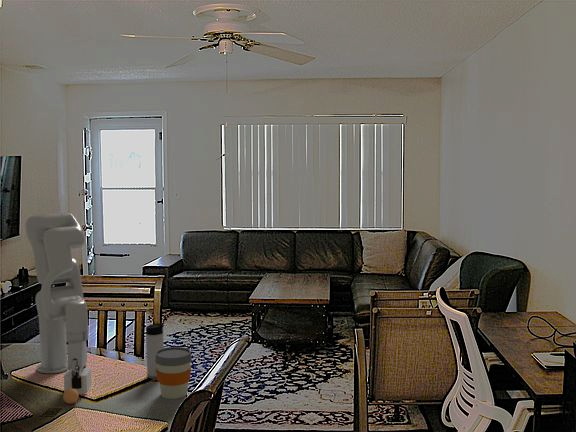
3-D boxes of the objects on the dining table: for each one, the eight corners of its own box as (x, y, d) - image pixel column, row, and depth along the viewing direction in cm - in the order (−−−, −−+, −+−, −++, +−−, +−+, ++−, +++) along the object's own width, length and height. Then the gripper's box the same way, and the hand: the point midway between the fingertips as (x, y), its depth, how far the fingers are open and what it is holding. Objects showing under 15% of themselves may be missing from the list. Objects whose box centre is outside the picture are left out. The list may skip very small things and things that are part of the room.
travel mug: (161, 379, 247) (160, 327, 244) (144, 378, 248) (143, 326, 246) (167, 373, 253) (166, 322, 250) (151, 372, 254) (149, 321, 252)
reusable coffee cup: (162, 403, 225) (161, 360, 223) (151, 390, 236) (150, 349, 234) (197, 396, 231) (196, 354, 229) (185, 384, 242) (184, 344, 240)
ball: (65, 400, 227) (64, 386, 227) (80, 399, 228) (79, 385, 227) (61, 406, 222) (61, 392, 222) (77, 405, 223) (76, 391, 222)
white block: (69, 386, 240) (68, 368, 239) (91, 386, 240) (90, 367, 240) (64, 395, 232) (63, 376, 231) (87, 394, 233) (86, 375, 232)
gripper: (71, 329, 242) (74, 376, 244) (60, 343, 225) (62, 393, 227) (93, 328, 243) (95, 375, 245) (82, 342, 226) (85, 392, 228)
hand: (79, 383), depth 236 cm, fingers closed on white block, 7 cm apart
